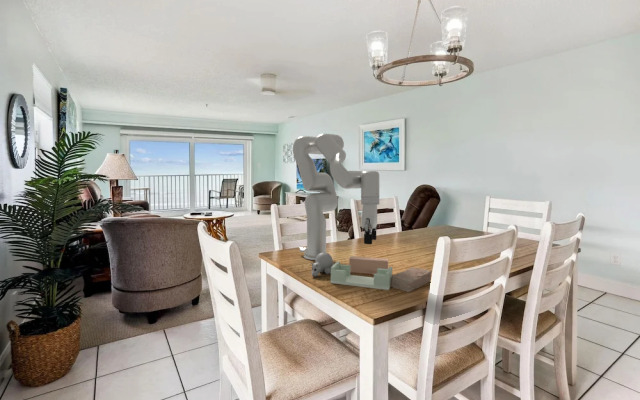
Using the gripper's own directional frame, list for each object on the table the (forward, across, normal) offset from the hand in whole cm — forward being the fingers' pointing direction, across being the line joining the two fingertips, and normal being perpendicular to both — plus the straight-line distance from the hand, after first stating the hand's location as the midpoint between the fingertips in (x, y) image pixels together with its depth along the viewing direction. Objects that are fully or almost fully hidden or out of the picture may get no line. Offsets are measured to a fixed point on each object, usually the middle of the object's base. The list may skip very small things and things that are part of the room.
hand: (370, 241), depth 137 cm
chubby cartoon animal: (+13, +9, -19) cm, 25 cm away
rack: (+13, +14, -1) cm, 19 cm away
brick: (+14, +8, +17) cm, 24 cm away
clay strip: (+13, 0, -1) cm, 13 cm away
